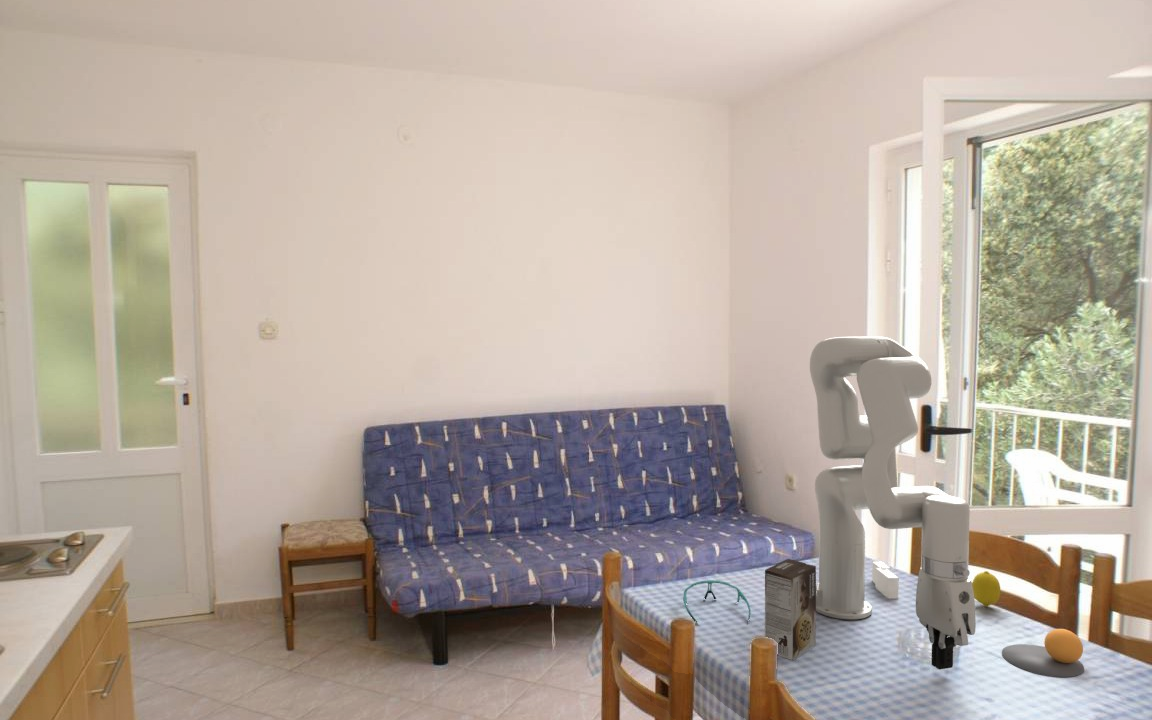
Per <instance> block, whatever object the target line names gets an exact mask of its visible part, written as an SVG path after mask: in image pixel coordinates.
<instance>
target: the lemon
mask: <svg viewBox="0 0 1152 720" xmlns="http://www.w3.org/2000/svg"><path fill="white" fill-rule="evenodd" d="M971 583H972V587H973V592H974V600H976V601H977V602H978V603H980V604H981V605H983V606H984V607H986V608H989V606H991V605H995V604H996V603H997V602H998V601H999V599H1000V597H1001V585H1000V582H999V579H998V578H997V577H996V576H995V575H994V574H992V573H990V572H989V571H988V570H985V571H983V572H980V573H977V575H975V576H974V578H973V580H972V582H971Z"/></svg>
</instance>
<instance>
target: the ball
mask: <svg viewBox="0 0 1152 720" xmlns="http://www.w3.org/2000/svg"><path fill="white" fill-rule="evenodd" d="M1043 643H1044V647H1045V648H1046V650H1047V652H1048V654H1049V655H1050V656H1051V657H1052V658H1053V659H1055V660H1057V661H1059V662H1062V663H1073V662H1076V661H1077V660H1079V661H1080V659H1081V657H1082V656H1083V653H1084V646H1083V643H1082V641H1081V639H1080V637H1079V636H1078V635H1077V634H1075V633H1074V632H1072V631H1071V630H1068V629H1065V628H1055V629H1052V630H1050V631H1049V632H1048V633H1047V634H1046V636H1045V638H1044V642H1043Z"/></svg>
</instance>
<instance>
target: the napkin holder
mask: <svg viewBox="0 0 1152 720" xmlns="http://www.w3.org/2000/svg"><path fill="white" fill-rule="evenodd" d="M871 563H872V564H871V565H872V566H871V567H872V570H871V571H872V572H871V573H872V574H871V580H872V583H874V584H875V589H876V590H877V591H878V592H879V593H880V594H882V595H883V596H885V597H886V598H887V599H889V600H890V599H893V600H894V599H896V600H897V599H899V593H900V591H899V588H900V587H899V585H900V584H899V583H900V582H899V580H900V579H899V577H898V576H897V575H896V574H895V573H893V572H892V571H891V567H890V566H888V565H887V564H886V563H884V562H883V561H872V562H871Z"/></svg>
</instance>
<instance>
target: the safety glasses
mask: <svg viewBox="0 0 1152 720" xmlns="http://www.w3.org/2000/svg"><path fill="white" fill-rule="evenodd" d="M700 584H701V585H702V584H707V590H706V592H705V595H704V597H703V599H704V598H705V599H706V600H707V598H708V595H709V594H711V595H712V597H713V599H717V596H715V594H714V592H713V590H712V584H721V585H724V586H729V587H731V588H732V589H735V590H736V591H737V599H736V603H737V602H740V599H742V600H743V601H744V602H745V604H746V605H747V608H748V618H747V621H748V620H749V619H750V620H751V607H750V604H749V601H748V599H747V597H746V596H745V595H744V594H743V592H742V591H741V590H740V589H739V587H737V586H736V585H732V584H731V583H730V582H725V581H722V580H715V579H712V580H710V579H709V580H708V579H707V580H700V581H696V582H694V583H691V585H689V586H688V587H686V588H685V589H684V591H683V600H682V601H683V604H684V606H685V609H686V611H687V613H688V615H689V616H690V618H691V617H692V618H691V619H692V620H693V622H695V621H696V622H698V620H697V619H696V618H695V617H694V615H693V614H692V613H691V611H690V609H689V607H688V605H686V603H687V604H688V602H687V592H688V591H689V590H690V589H691V588H693V587H696V586H697V585H700ZM750 620H749V621H750Z"/></svg>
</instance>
